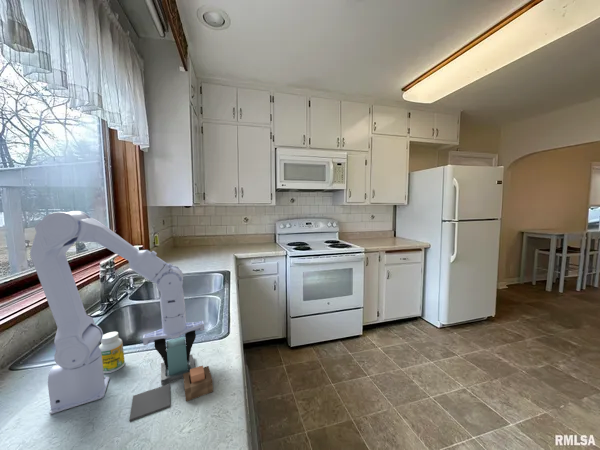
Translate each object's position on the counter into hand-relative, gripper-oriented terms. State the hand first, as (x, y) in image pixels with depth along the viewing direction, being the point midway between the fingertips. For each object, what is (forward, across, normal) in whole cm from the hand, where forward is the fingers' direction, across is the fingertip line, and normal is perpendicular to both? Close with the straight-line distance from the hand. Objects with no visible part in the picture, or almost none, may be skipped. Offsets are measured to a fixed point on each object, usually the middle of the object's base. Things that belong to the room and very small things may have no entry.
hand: (177, 361), depth 69 cm
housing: (+3, +4, -10) cm, 11 cm away
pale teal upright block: (+3, 0, 0) cm, 3 cm away
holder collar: (+3, 0, 0) cm, 3 cm away
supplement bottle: (+3, -16, +11) cm, 20 cm away
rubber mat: (+3, -6, -9) cm, 11 cm away
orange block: (+2, +4, -10) cm, 11 cm away
